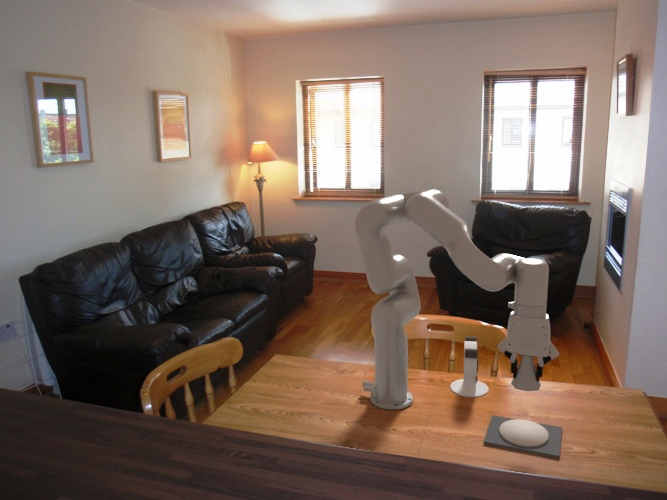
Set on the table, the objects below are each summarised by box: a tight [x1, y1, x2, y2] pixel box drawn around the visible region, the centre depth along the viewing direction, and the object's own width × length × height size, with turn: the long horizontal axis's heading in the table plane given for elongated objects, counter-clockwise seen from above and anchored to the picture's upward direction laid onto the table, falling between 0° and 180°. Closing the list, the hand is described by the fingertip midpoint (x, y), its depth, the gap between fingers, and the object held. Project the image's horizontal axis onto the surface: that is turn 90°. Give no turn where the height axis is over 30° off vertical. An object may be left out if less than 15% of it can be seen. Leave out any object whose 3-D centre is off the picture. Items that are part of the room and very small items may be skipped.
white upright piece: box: [449, 336, 489, 398], centre depth 174 cm, size 12×11×15 cm
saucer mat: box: [483, 414, 563, 460], centre depth 149 cm, size 18×14×2 cm
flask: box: [510, 355, 542, 392], centre depth 145 cm, size 7×7×10 cm
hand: (526, 376), depth 145 cm, fingers closed on flask, 4 cm apart
